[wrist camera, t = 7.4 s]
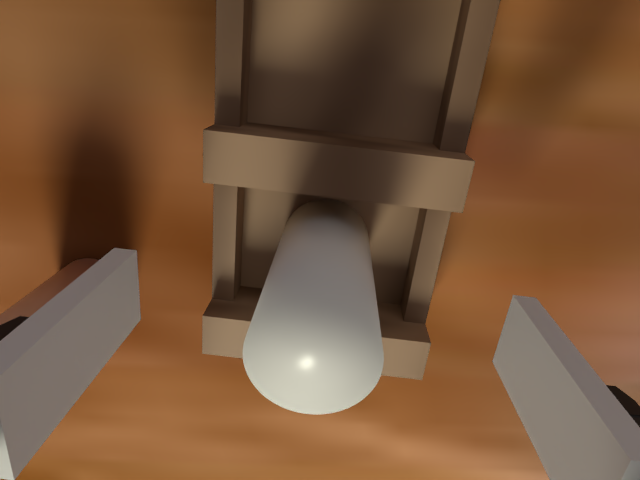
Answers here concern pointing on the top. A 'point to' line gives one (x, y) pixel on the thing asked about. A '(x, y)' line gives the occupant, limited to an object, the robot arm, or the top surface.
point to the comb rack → (342, 146)
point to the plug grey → (317, 314)
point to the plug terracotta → (47, 290)
